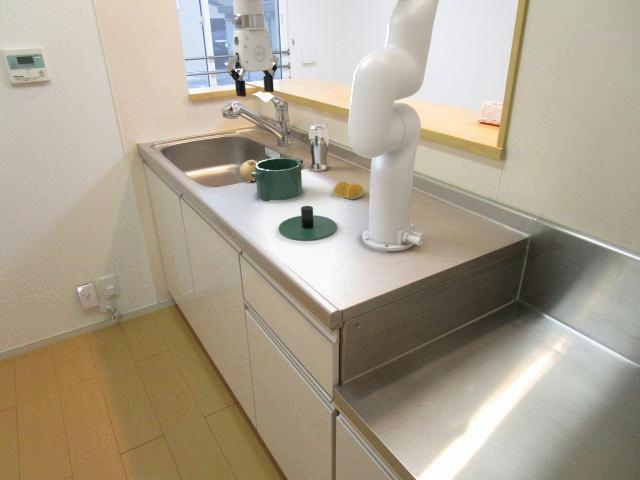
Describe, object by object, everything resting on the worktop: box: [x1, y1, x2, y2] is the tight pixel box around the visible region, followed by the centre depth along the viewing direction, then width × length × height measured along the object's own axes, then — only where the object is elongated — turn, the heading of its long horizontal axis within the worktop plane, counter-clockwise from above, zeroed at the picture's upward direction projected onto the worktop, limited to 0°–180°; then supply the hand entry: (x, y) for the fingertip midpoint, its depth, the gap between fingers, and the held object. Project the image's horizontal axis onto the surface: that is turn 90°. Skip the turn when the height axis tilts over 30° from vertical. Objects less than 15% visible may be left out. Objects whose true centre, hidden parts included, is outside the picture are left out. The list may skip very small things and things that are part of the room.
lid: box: [278, 205, 338, 242], centre depth 113 cm, size 15×15×6 cm
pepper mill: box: [308, 124, 330, 172], centre depth 158 cm, size 7×7×15 cm
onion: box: [238, 159, 259, 182], centre depth 150 cm, size 8×8×7 cm
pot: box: [251, 157, 304, 202], centre depth 136 cm, size 14×19×10 cm
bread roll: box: [332, 181, 364, 200], centre depth 135 cm, size 8×9×4 cm
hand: (255, 93), depth 121 cm, fingers open, 9 cm apart
